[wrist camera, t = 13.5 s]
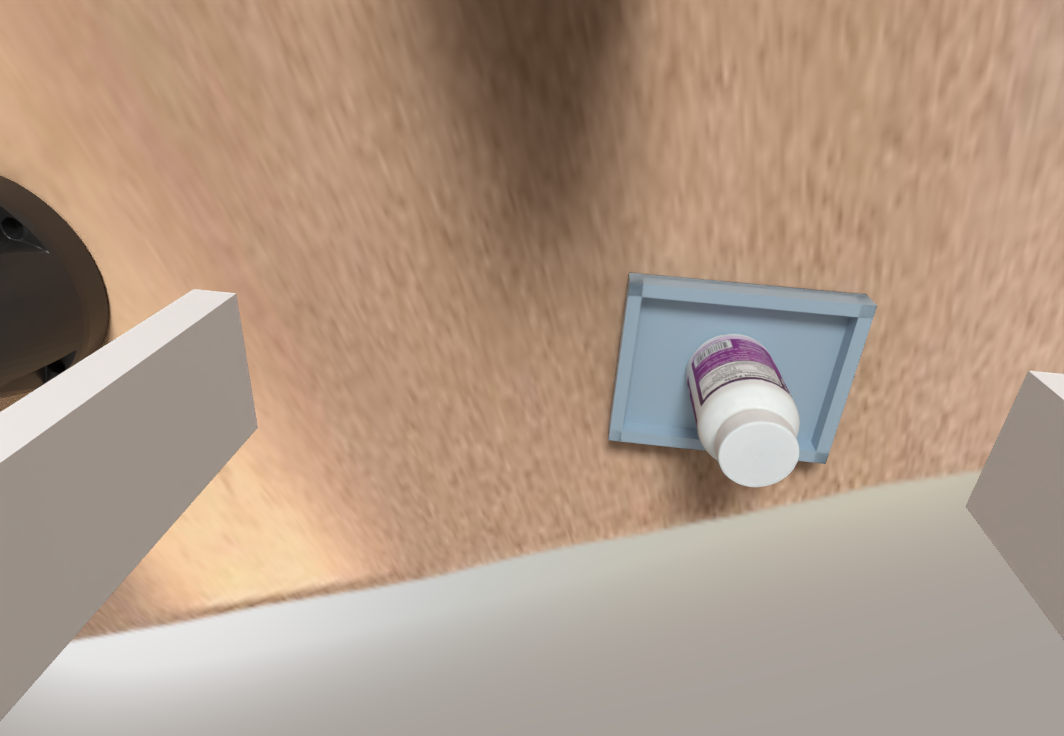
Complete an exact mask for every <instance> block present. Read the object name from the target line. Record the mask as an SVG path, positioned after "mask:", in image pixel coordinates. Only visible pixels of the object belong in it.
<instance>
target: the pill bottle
mask: <svg viewBox="0 0 1064 736" xmlns="http://www.w3.org/2000/svg"><path fill="white" fill-rule="evenodd" d="M686 381H687V387H688V391H689V395H690V400H691V404H692V408H693V413H694V417H695V422H696V427H697V432H698V436H699V439H700V441H701V443H702V445H703V447H704V448H705V450H706V451H707V452H708V453H709V454H710V455H711V456H712V457H713V458H714V459H716V460H717V461H718V463H719V465H720V468H721V470H722V471H723V473H724V474H725V475H726V476H727V477H728V478H729V479H731V480H732V481H734V482H735V483H738V484H740V485H743V486H747V487H764V486H769V485H772V484H775V483H777V482H779V481H781V480H782V479H784V478H785V477H787V476H788V475H789V474H790V473H791V471H792V470H793V469H794V467H795V466H796V464H797V462H798V458H799V445H798V442H797V439H796V438H797V435H798V432H799V425H800V420H799V414H798V410H797V407H796V404H795V402H794V400H793V398H792V396H791V394H790V392H789V390H788V388H787V386H786V384H785V382H784V380H783V378H782V376H781V374H780V372H779V370H778V368H777V367H776V365H775V363H774V361H773V359H772V357H771V355H770V354H769V352H768V351H767V349H766V348H765V347H764V346H763V345H762V344H761V343H759V342H758V341H757V340H755V339H753V338H751V337H749V336H745V335H741V334H726V335H719V336H716V337H714V338H711V339H709V340H708V341H706V342H704V343H703V344H702V345H701V346H700V347H699V348H697V350H696V351H695V352H694V353H693V354H692V356H691V357H690V359H689V362H688V365H687V369H686Z"/></svg>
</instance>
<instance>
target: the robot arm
mask: <svg viewBox="0 0 1064 736" xmlns="http://www.w3.org/2000/svg"><path fill="white" fill-rule="evenodd" d="M107 325H108V305H107V298H106V293H105V289H104V286H103V282H102V280H101V277H100V274H99V272H98V270H97V267H96V265H95V263H94V261H93V259H92V257H91V256H90V254H89V252H88V251H87V249H86V247H85V246H84V244H83V243H82V241H81V240H80V239H79V237H78V236H77V235H76V233H75V232H74V231H73V230H72V229H71V227H70V226H69V225H68V224H67V223H66V222H65V221H64V220H63V219H62V218H61V217H60V216H59V215H58V214H57V213H56V212H55V211H54V210H53V209H52V208H51V207H50V206H49V205H47V204H46V203H45V202H44V201H42V200H41V199H40V198H38V197H37V196H36V195H34V194H33V193H31V192H30V191H28V190H27V189H25V188H24V187H22V186H20V185H18V184H17V183H15V182H13V181H11V180H9V179H7V178H5V177H2V176H0V399H1V398H5V397H9V396H14V395H18V394H22V393H27V392H31V391H33V392H31V393H30V394H28V395H26V396H25V397H23V398H22V399H20V400H18V401H17V402H15V403H14V404H12V405H11V406H9V407H7V408H6V409H4V410H3V411H1V412H0V721H1V720H2V719H3V718H4V716H5V715H6V714H7V713H8V712H9V711H10V710H11V708H12V707H13V706H14V705H15V704H16V703H17V702H18V700H19V699H20V698H21V697H22V696H23V695H24V694H25V692H26V691H27V690H28V689H29V688H30V687H31V686H32V684H33V683H34V682H35V681H36V680H37V679H38V678H39V676H40V675H41V674H42V673H43V672H44V671H45V670H46V668H47V667H48V666H49V665H50V664H51V663H52V661H53V660H54V659H55V658H56V657H57V656H58V655H59V654H60V652H61V651H62V650H63V649H64V648H65V647H66V646H67V645H68V643H69V642H70V641H71V640H72V639H73V638H74V637H75V635H76V634H77V633H78V632H79V631H80V630H81V629H82V627H83V626H84V625H85V624H86V623H87V622H88V621H89V619H90V618H91V617H92V616H93V615H94V614H95V613H96V611H97V610H98V609H99V608H100V607H101V606H102V605H103V603H104V602H105V601H106V600H107V599H108V598H109V597H110V595H111V594H112V593H113V592H114V591H115V590H116V589H117V587H118V586H119V585H120V584H121V583H122V582H123V581H124V580H125V578H126V577H127V576H128V575H129V574H130V573H131V572H132V570H133V569H134V568H135V567H136V566H137V565H138V564H139V562H140V561H141V560H142V559H143V558H144V557H145V556H146V554H147V553H148V552H149V551H150V550H151V549H152V548H153V546H154V545H155V544H156V543H157V542H158V541H159V540H160V538H161V537H162V536H163V535H164V534H165V533H166V532H167V530H168V529H169V528H170V527H171V526H172V525H173V524H174V522H175V521H176V520H177V519H178V518H179V517H180V516H181V514H182V513H183V512H184V511H185V510H186V509H187V508H188V506H189V505H190V504H191V503H192V502H193V501H194V500H195V498H196V497H197V496H198V495H199V494H200V493H201V492H202V490H203V489H204V488H205V487H206V486H207V485H208V484H209V483H210V481H211V480H212V479H213V478H214V477H215V476H216V475H217V473H218V472H219V471H220V470H221V469H222V468H223V467H224V465H225V464H226V463H227V462H228V461H229V460H230V459H231V457H232V456H233V455H234V454H235V453H236V452H237V451H238V449H239V448H240V447H241V446H242V445H243V444H244V443H245V441H246V440H247V439H248V438H249V437H250V436H251V435H252V433H253V432H254V431H255V430H256V429H257V428H258V426H257V420H256V414H255V408H254V401H253V395H252V389H251V382H250V376H249V370H248V364H247V357H246V351H245V345H244V338H243V332H242V326H241V320H240V313H239V307H238V301H237V294H236V293H228V292H218V291H208V290H198V289H193V290H192V291H190V292H188V293H187V294H185V295H184V296H182V297H181V298H179V299H177V300H176V301H174V302H173V303H171V304H170V305H168V306H166V307H165V308H163V309H162V310H160V311H159V312H157V313H155V314H154V315H152V316H151V317H149V318H148V319H146V320H144V321H143V322H141V323H140V324H138V325H137V326H135V327H133V328H132V329H130V330H129V331H127V332H126V333H124V334H122V335H121V336H119V337H118V338H116V339H115V340H113V341H111V342H110V343H108V344H107V345H105V346H103V347H102V348H100V347H101V346H102V343H103V341H104V338H105V335H106V331H107ZM966 508H967V509H968V510H969V512H970V513H971V514H972V516H973V517H974V518H975V520H976V521H977V523H978V524H979V525H980V527H981V528H982V529H983V531H984V532H985V533H986V535H987V536H988V538H989V539H990V540H991V542H992V543H993V544H994V546H995V547H996V548H997V550H998V551H999V552H1000V554H1001V555H1002V557H1003V558H1004V559H1005V561H1006V562H1007V563H1008V565H1009V566H1010V568H1011V569H1012V570H1013V572H1014V573H1015V574H1016V576H1017V577H1018V578H1019V580H1020V581H1021V583H1022V584H1023V585H1024V587H1025V588H1026V589H1027V591H1028V592H1029V593H1030V595H1031V596H1032V598H1033V599H1034V600H1035V602H1036V603H1037V604H1038V606H1039V607H1040V608H1041V610H1042V611H1043V613H1044V614H1045V615H1046V616H1047V618H1048V619H1049V621H1050V622H1051V623H1052V625H1053V626H1054V628H1055V629H1056V630H1057V632H1058V633H1059V634H1060V636H1061V637H1062V638H1063V640H1064V374H1058V373H1048V372H1038V371H1028V373H1027V375H1026V377H1025V379H1024V381H1023V384H1022V386H1021V388H1020V390H1019V392H1018V394H1017V397H1016V399H1015V401H1014V403H1013V405H1012V407H1011V409H1010V412H1009V414H1008V416H1007V418H1006V420H1005V422H1004V425H1003V427H1002V429H1001V431H1000V433H999V435H998V438H997V440H996V442H995V444H994V446H993V448H992V450H991V453H990V455H989V457H988V459H987V461H986V463H985V466H984V468H983V470H982V472H981V474H980V476H979V479H978V481H977V483H976V485H975V487H974V490H973V491H972V494H971V496H970V498H969V500H968V503H967V504H966Z"/></svg>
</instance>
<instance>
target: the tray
mask: <svg viewBox="0 0 1064 736" xmlns="http://www.w3.org/2000/svg"><path fill="white" fill-rule="evenodd" d="M876 307H877V305H876V304H875V303H874V302H873V301H872V300H871V299H870V298H869V297H868V296H867V295H866V294H857V293H846V292H835V291H824V290H813V289H802V288H791V287H781V286H770V285H759V284H748V283H737V282H726V281H715V280H704V279H693V278H682V277H672V276H661V275H650V274H639V273H629V278H628V285H627V292H626V300H625V307H624V315H623V322H622V330H621V337H620V345H619V352H618V360H617V367H616V374H615V382H614V389H613V397H612V404H611V412H610V419H609V440H612V441H621V442H630V443H639V444H648V445H658V446H667V447H676V448H685V449H694V450H704V451H706V450H705V448H704V447H703V445H702V443H701V441H700V439H699V436H698V432H697V427H696V422H695V417H694V413H693V408H692V404H691V400H690V395H689V391H688V387H687V381H686V369H687V365H688V362H689V359H690V357H691V356H692V354H693V353H694V352H695V351H696V350H697V348H699V347H700V346H701V345H702V344H703V343H704V342H706V341H708V340H709V339H711V338H714V337H716V336H719V335H726V334H741V335H745V336H749V337H751V338H753V339H755V340H757V341H758V342H759V343H761V344H762V345H763V346H764V347H765V348H766V349H767V351H768V352H769V354H770V355H771V357H772V359H773V361H774V363H775V365H776V367H777V368H778V370H779V372H780V374H781V376H782V378H783V380H784V382H785V384H786V386H787V388H788V390H789V392H790V394H791V396H792V398H793V400H794V402H795V404H796V407H797V410H798V414H799V420H800V425H799V432H798V435H797V438H796V439H797V442H798V445H799V458H798V461H805V462H814V463H823V464H826V461H827V458H828V455H829V452H830V449H831V446H832V443H833V439H834V436H835V433H836V430H837V427H838V424H839V421H840V418H841V415H842V412H843V409H844V406H845V403H846V400H847V396H848V393H849V390H850V387H851V384H852V381H853V378H854V375H855V372H856V369H857V366H858V363H859V360H860V357H861V353H862V350H863V347H864V344H865V341H866V338H867V335H868V332H869V329H870V326H871V323H872V320H873V317H874V314H875V310H876Z"/></svg>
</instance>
